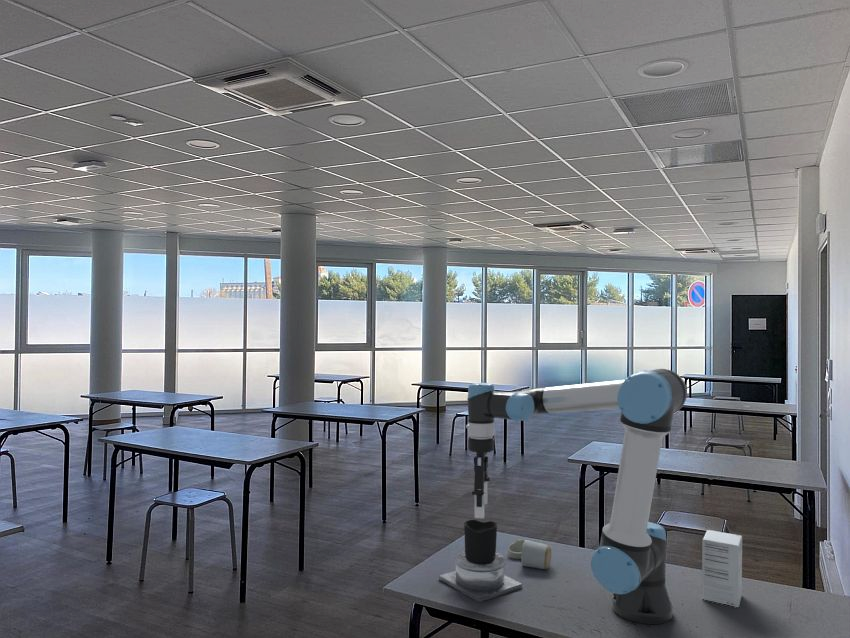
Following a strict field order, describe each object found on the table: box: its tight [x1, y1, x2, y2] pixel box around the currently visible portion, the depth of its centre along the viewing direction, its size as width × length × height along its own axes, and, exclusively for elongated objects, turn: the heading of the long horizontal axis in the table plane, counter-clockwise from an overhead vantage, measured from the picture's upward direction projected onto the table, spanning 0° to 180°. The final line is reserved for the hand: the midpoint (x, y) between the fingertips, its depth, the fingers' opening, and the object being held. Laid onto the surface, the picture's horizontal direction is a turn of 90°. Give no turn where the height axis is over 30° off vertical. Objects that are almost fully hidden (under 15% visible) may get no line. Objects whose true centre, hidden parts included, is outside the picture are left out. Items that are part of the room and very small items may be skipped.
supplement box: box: [701, 529, 743, 608], centre depth 172 cm, size 10×9×17 cm
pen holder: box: [463, 519, 498, 564], centre depth 180 cm, size 9×9×10 cm
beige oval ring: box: [507, 538, 526, 560], centre depth 201 cm, size 9×6×5 cm
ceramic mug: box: [520, 539, 552, 570], centre depth 194 cm, size 11×8×8 cm
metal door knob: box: [438, 550, 523, 603], centre depth 180 cm, size 18×16×7 cm
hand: (481, 510), depth 180 cm, fingers open, 13 cm apart
